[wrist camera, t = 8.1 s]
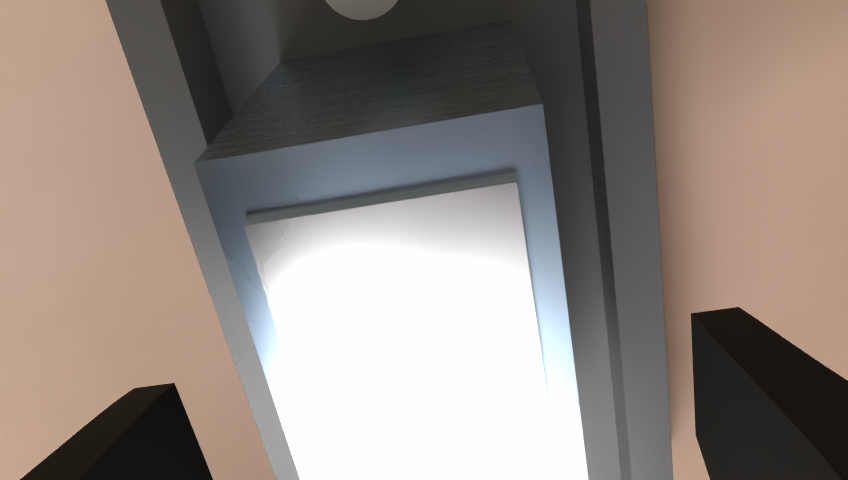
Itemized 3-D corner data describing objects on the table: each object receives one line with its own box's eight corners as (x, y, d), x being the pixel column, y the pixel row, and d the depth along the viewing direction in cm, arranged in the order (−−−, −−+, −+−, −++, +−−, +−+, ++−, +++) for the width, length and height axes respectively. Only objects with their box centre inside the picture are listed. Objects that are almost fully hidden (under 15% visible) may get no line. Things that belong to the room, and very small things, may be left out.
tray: (662, 453, 18) (703, 567, 15) (314, 495, 19) (289, 608, 16) (622, -166, 12) (675, -175, 9) (129, -65, 13) (39, -45, 10)
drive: (560, 398, 16) (604, 611, 12) (377, 421, 17) (349, 636, 12) (510, 19, 13) (544, 107, 8) (280, 60, 13) (189, 168, 9)
